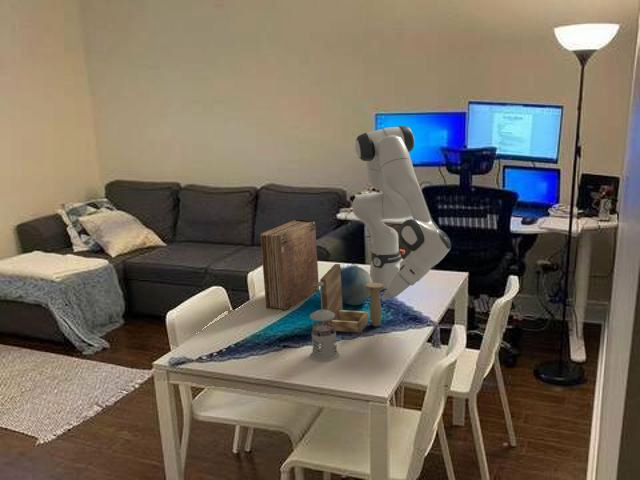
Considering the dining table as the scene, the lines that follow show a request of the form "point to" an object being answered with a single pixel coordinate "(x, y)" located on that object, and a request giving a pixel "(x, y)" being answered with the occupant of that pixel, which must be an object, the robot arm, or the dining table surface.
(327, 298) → the cleat board
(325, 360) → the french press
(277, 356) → the dining table surface
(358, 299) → the decorative ball
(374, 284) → the handle
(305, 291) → the book
